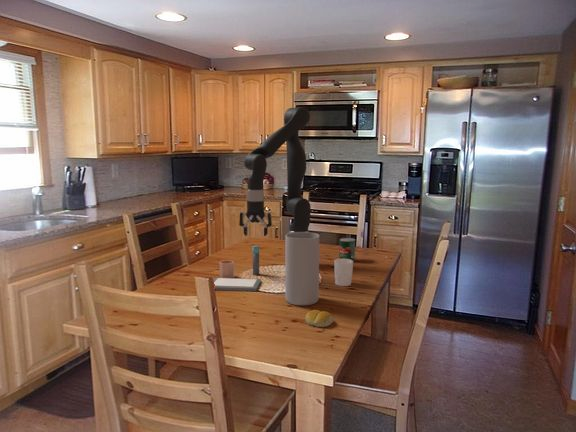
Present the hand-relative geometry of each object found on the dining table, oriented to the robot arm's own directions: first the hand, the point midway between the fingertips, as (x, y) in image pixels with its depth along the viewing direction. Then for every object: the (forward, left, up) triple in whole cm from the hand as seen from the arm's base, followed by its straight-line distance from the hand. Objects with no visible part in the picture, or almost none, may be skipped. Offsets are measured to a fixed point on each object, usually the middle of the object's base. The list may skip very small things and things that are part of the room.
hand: (255, 235), depth 195 cm
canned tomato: (-42, -29, -18) cm, 54 cm away
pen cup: (+12, +6, -18) cm, 22 cm away
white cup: (-39, +10, -18) cm, 44 cm away
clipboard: (+6, +17, -18) cm, 25 cm away
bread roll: (-30, +52, -18) cm, 63 cm away
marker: (0, 0, -18) cm, 18 cm away
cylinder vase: (-23, +32, -18) cm, 43 cm away
